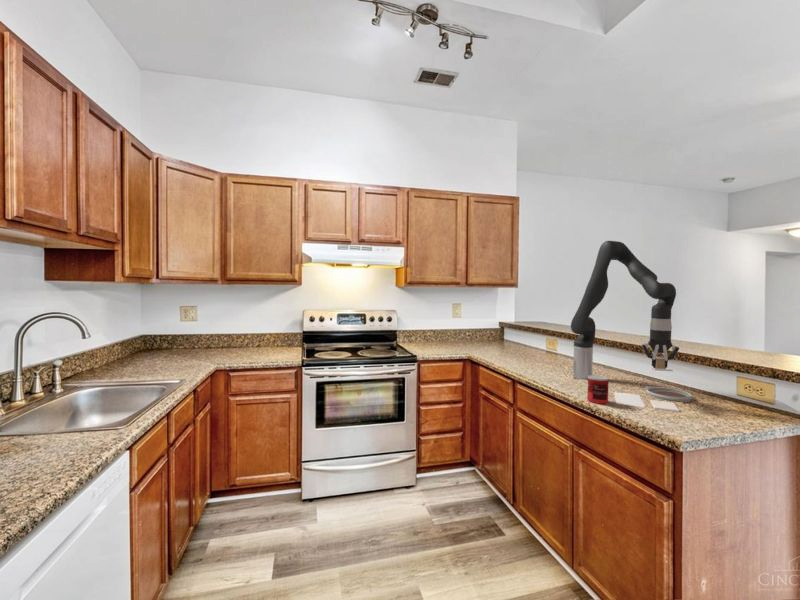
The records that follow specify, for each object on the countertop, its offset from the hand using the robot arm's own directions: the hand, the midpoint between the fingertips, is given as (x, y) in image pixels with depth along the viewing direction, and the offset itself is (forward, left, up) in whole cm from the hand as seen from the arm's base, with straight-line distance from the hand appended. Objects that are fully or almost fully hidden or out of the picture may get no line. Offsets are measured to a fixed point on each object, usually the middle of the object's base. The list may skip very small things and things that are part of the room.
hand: (659, 368), depth 159 cm
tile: (0, -6, -14) cm, 15 cm away
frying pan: (+2, +12, -15) cm, 19 cm away
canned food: (-24, -17, -14) cm, 32 cm away
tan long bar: (0, -3, -1) cm, 3 cm away
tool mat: (-12, -7, -14) cm, 20 cm away
